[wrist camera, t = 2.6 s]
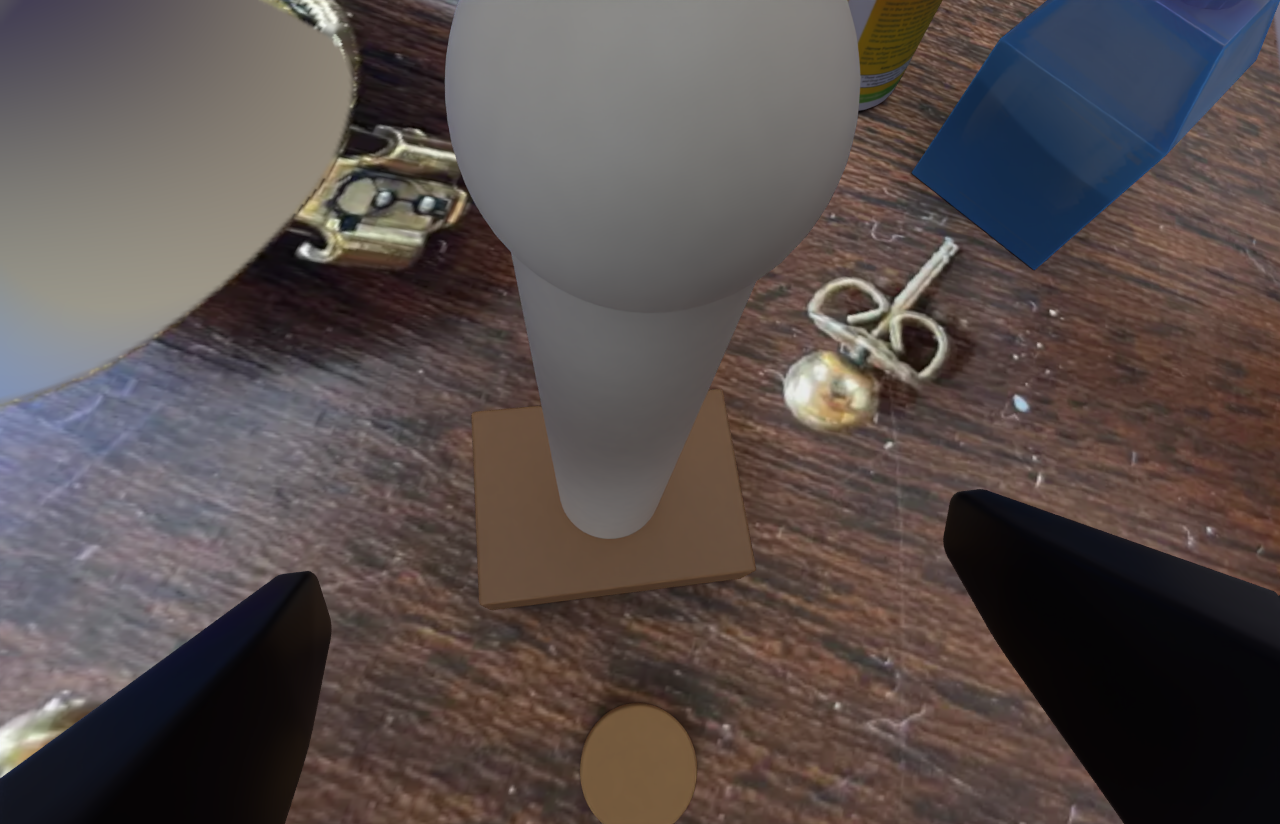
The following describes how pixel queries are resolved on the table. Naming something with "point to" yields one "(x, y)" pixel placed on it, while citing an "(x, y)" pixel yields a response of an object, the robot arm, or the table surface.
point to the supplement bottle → (887, 42)
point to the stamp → (635, 263)
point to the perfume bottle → (1084, 110)
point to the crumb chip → (638, 766)
